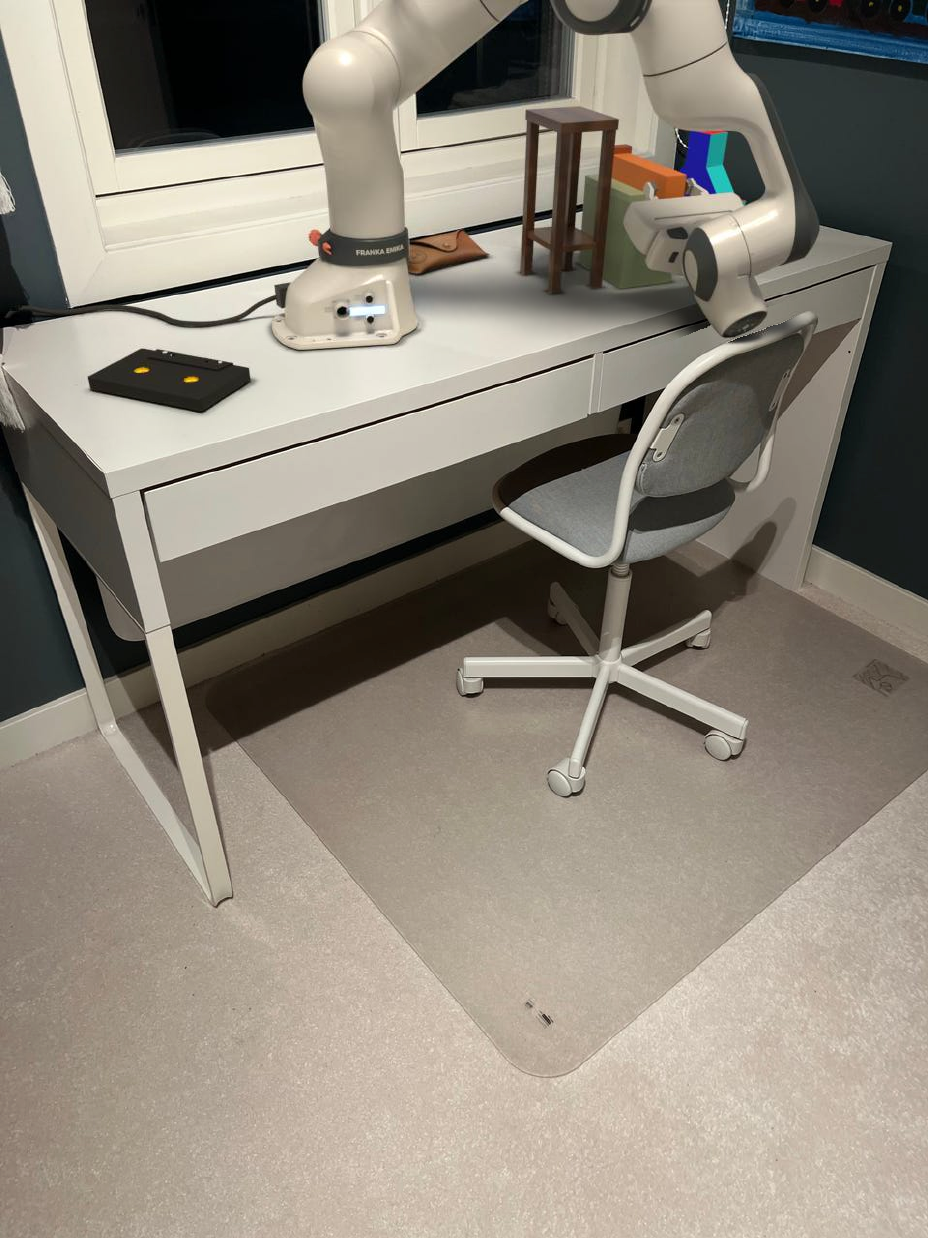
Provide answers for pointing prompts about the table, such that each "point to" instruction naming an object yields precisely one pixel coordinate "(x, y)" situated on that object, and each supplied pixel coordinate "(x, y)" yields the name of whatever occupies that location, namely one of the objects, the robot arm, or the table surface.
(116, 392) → the cassette tape
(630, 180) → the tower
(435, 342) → the table surface
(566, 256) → the stand
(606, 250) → the sage green box
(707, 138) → the building blocks toy
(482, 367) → the table surface
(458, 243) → the sunglasses case
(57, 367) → the table surface
